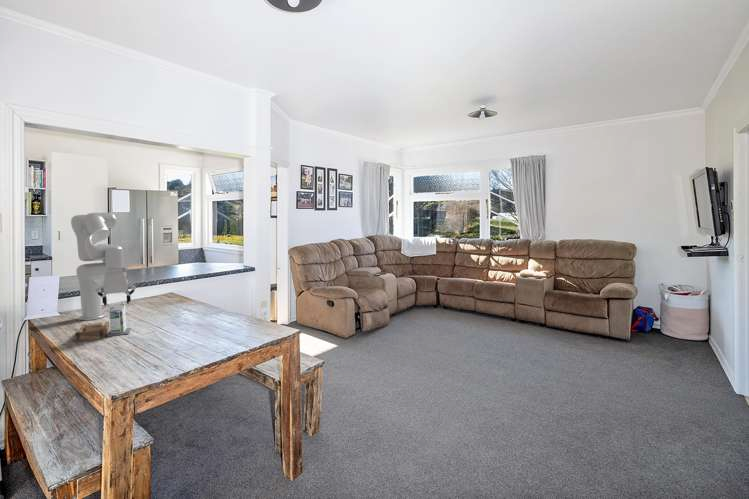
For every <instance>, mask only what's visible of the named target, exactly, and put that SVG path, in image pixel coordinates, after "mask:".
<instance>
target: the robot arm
mask: <svg viewBox="0 0 749 499" xmlns="http://www.w3.org/2000/svg"><path fill="white" fill-rule="evenodd" d="M117 223H118V220H117V217H116V216H115V214H114V213H112V212H89V213H87V214H78V215H73V216H72V217H71V219H70V224H71V228H72V230H73V233H74V234H75V235H74V236H76V245H77V254H78V255H77V256H78V259H79V260H80V261H81V262H92V263H84V264H80V265H78V266H77V267H76V271H75V272H76V276H77V279H78V280H77V281H78V284H79V294H80V297H79V298H80V309H81V315H80V316H78V320H79V321H93V320H98V319H102V318H104V317H106V313H104V312H103V308H102V307H103V306H102V304H103V305H104V306H107V304H108V302H107V301H108V300H107V295H108V294H109V295H110V294H122V293H123V294H126V304H130V303H131V301H132V299H131V298H132V297H131V295H132V294H133V293H135V291H136V289H137V286H136V285H133V284H131V283H129V280H128V275H127V271H128V267H125V265H124V264H125V262H124V261H125V260H124V249H123V246H120V245H119V244H116V243H115V244H114V243H112V244H107V243H99V242H103V241H105V240H106V239H107V238H109V236H110V234H111V233H110V229H114V228H116V227H117ZM94 261H102V262H94ZM125 271H126V272H125ZM102 279H103V285H99V283H97V282H96V280H97V281H98V280H102ZM129 288H131V290H130V291H129ZM102 289H103V292H101V290H102Z"/></svg>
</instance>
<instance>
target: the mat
mask: <svg viewBox="0 0 749 499" xmlns="http://www.w3.org/2000/svg"><path fill="white" fill-rule="evenodd" d="M131 329H132V327H126V330H125V331H124V332H122V333H110V330H109V331H108V332H107V334H106V335H107V336H106V337H117V336H125V335H129V334H130V333H131Z"/></svg>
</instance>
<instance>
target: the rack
mask: <svg viewBox="0 0 749 499" xmlns="http://www.w3.org/2000/svg"><path fill="white" fill-rule="evenodd" d="M87 324H88V323H87ZM87 324H86V323H85V324H82V325H81V326H80V328H79V329H78V330H77V331H76V332H75V342H76V343H77V342H83V341H84V342H85V341H92V340H93V341H94V340H100V339H102V340H103V339H105V338H106V337H107V336H106V335H108V333H109V331H110V321H106V322H104V323H103V327H102V328H101V329H100V330H95V331H86V325H87Z"/></svg>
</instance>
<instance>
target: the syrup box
mask: <svg viewBox="0 0 749 499" xmlns="http://www.w3.org/2000/svg"><path fill="white" fill-rule="evenodd" d="M108 313H109V314H108V315H109V331H110V333H122V332H124V331H125V330H126V328H127V317H126V303H125V302H114V303H113V302H112V303H110V304H109V305H108Z"/></svg>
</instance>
